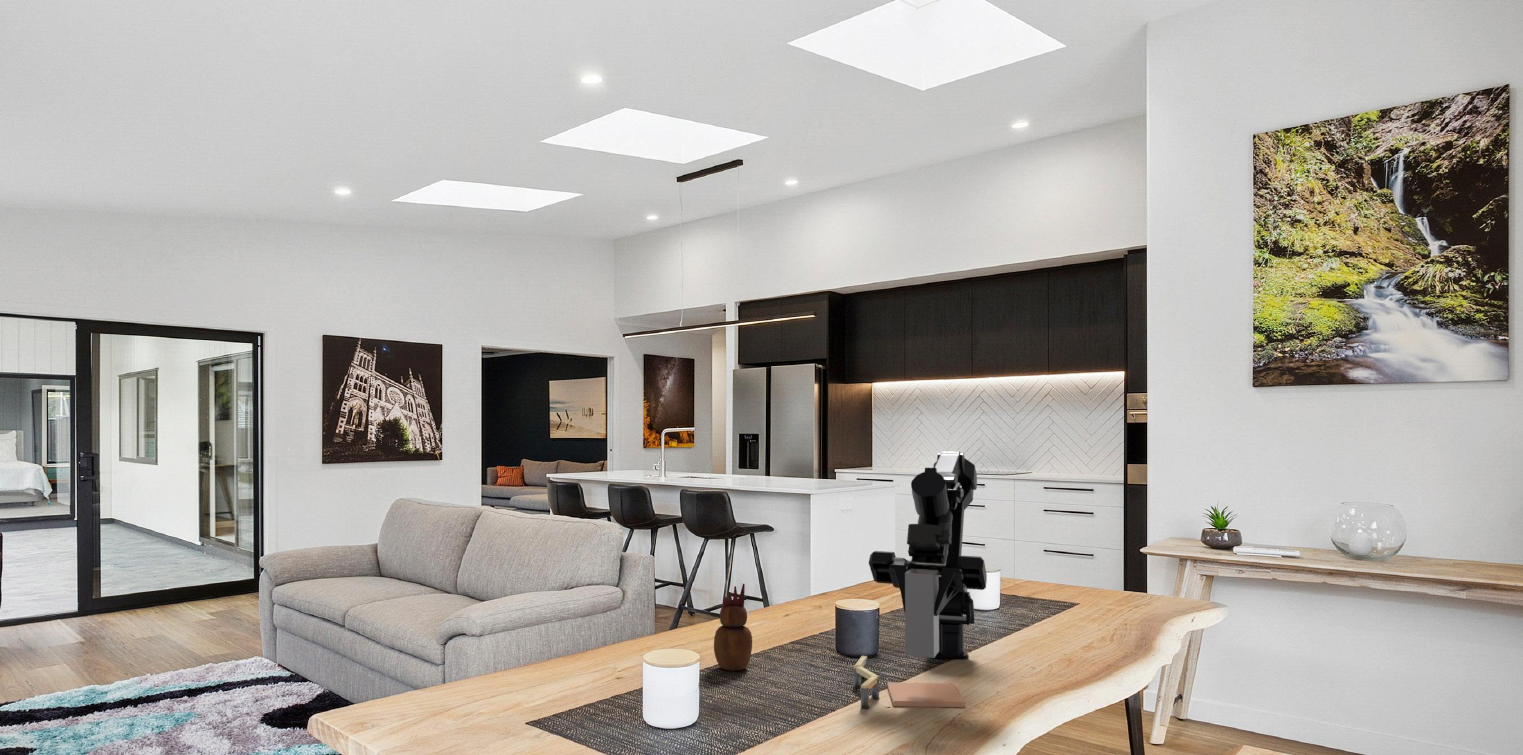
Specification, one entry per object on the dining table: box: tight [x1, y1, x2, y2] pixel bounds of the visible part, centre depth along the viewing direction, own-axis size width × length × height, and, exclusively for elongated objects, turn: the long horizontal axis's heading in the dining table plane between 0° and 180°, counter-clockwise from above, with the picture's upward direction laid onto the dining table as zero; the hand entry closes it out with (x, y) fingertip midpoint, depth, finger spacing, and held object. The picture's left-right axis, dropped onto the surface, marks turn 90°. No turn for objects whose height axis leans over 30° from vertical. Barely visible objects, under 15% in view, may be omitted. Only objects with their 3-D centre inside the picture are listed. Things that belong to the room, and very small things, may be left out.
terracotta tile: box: [887, 681, 966, 708], centre depth 143 cm, size 10×11×1 cm
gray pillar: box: [904, 569, 939, 659], centre depth 144 cm, size 4×4×13 cm
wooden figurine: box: [713, 583, 753, 672], centre depth 160 cm, size 7×6×15 cm
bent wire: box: [853, 655, 880, 710], centre depth 146 cm, size 18×4×3 cm, turn 177°
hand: (920, 613), depth 143 cm, fingers closed on gray pillar, 4 cm apart
